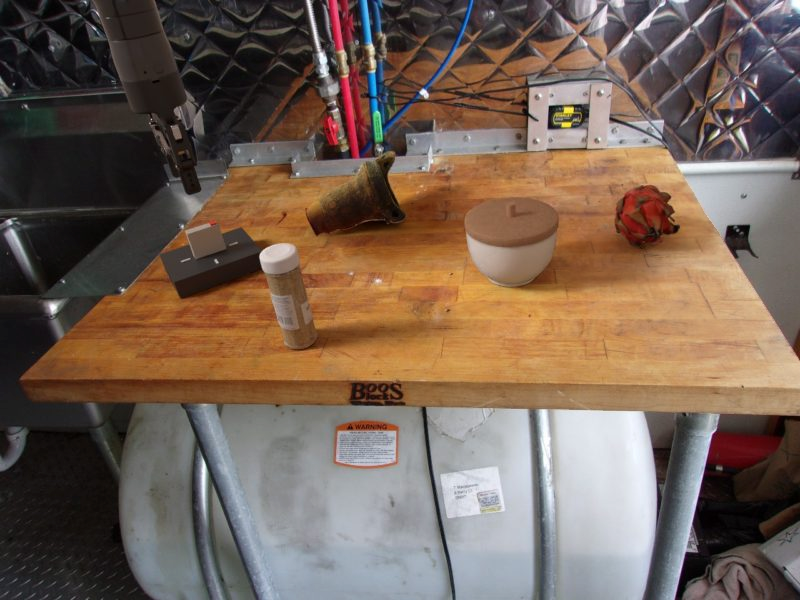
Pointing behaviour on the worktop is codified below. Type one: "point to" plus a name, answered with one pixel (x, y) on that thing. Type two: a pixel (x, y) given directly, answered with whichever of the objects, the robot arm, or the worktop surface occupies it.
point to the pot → (358, 200)
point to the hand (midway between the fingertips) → (187, 184)
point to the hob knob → (205, 239)
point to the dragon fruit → (644, 216)
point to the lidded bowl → (511, 239)
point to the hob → (212, 264)
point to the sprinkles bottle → (289, 294)
